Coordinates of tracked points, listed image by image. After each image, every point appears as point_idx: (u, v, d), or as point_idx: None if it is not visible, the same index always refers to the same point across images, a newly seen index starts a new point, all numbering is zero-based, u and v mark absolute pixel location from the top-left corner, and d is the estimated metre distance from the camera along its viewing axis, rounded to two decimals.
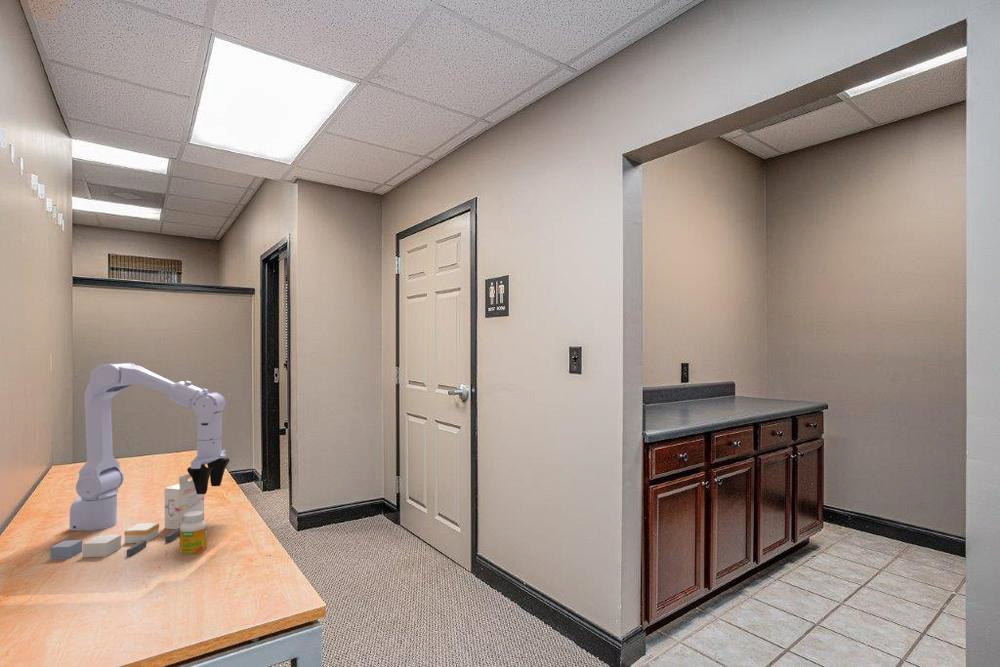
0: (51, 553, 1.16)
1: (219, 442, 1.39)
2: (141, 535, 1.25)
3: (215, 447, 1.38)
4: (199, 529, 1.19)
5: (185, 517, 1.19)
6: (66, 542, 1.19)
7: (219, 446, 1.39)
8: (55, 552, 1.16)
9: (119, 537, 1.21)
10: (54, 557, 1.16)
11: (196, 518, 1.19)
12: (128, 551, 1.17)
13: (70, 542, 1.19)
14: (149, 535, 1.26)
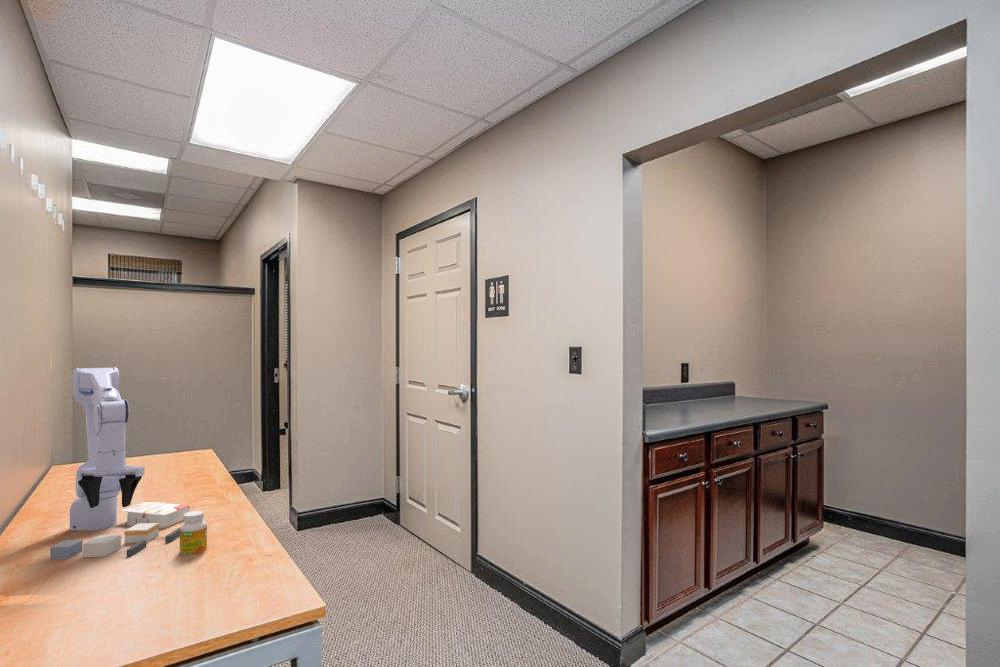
0: (51, 553, 1.16)
1: (101, 456, 1.25)
2: (141, 535, 1.25)
3: (97, 460, 1.25)
4: (199, 529, 1.19)
5: (185, 517, 1.19)
6: (66, 542, 1.18)
7: (101, 461, 1.25)
8: (55, 552, 1.16)
9: (119, 537, 1.21)
10: (54, 557, 1.16)
11: (196, 518, 1.19)
12: (128, 551, 1.17)
13: (70, 542, 1.18)
14: (149, 535, 1.26)
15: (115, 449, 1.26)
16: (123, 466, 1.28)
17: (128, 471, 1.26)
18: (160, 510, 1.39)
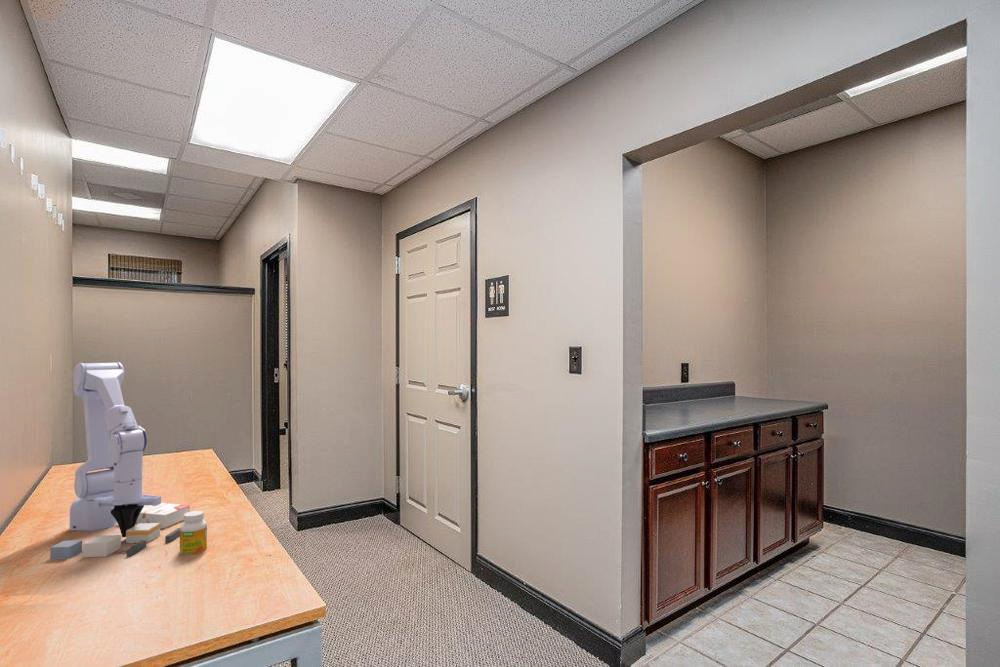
0: (51, 553, 1.16)
1: (118, 486, 1.25)
2: (143, 535, 1.25)
3: (114, 490, 1.25)
4: (199, 529, 1.19)
5: (185, 517, 1.19)
6: (66, 542, 1.18)
7: (118, 491, 1.25)
8: (55, 552, 1.16)
9: (119, 537, 1.21)
10: (54, 557, 1.16)
11: (196, 518, 1.19)
12: (128, 551, 1.17)
13: (70, 542, 1.18)
14: (150, 535, 1.26)
15: (134, 478, 1.26)
16: (140, 495, 1.28)
17: (145, 500, 1.26)
18: (160, 510, 1.39)
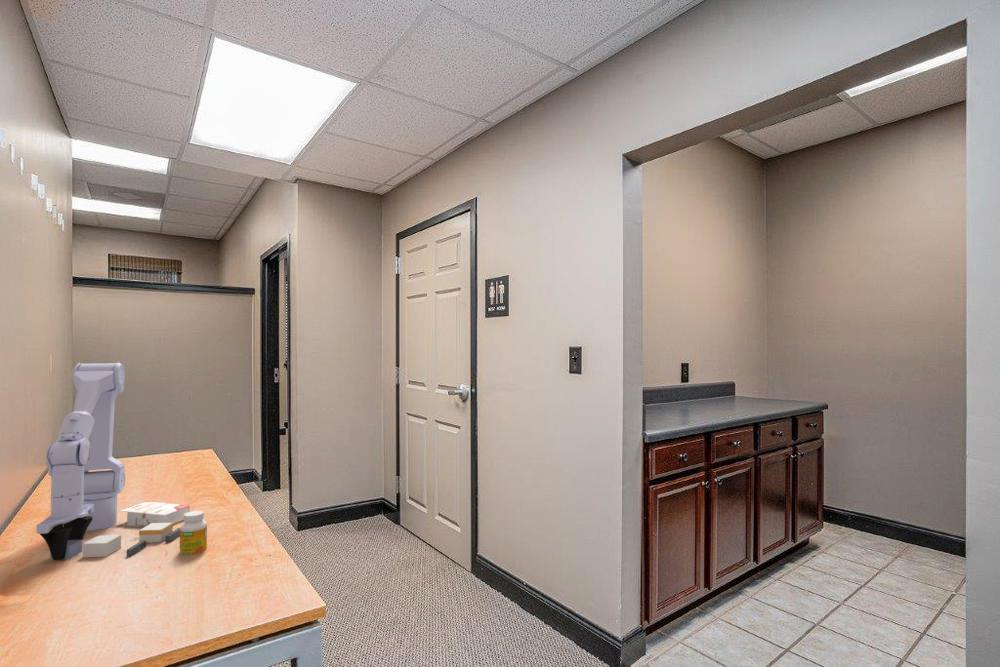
0: None
1: (79, 498, 1.18)
2: (156, 535, 1.25)
3: (72, 505, 1.16)
4: (199, 529, 1.19)
5: (185, 517, 1.19)
6: None
7: (79, 503, 1.18)
8: None
9: (119, 537, 1.21)
10: None
11: (196, 518, 1.19)
12: (128, 551, 1.17)
13: (70, 542, 1.18)
14: (163, 535, 1.27)
15: (64, 494, 1.16)
16: None
17: (89, 508, 1.23)
18: (160, 510, 1.39)
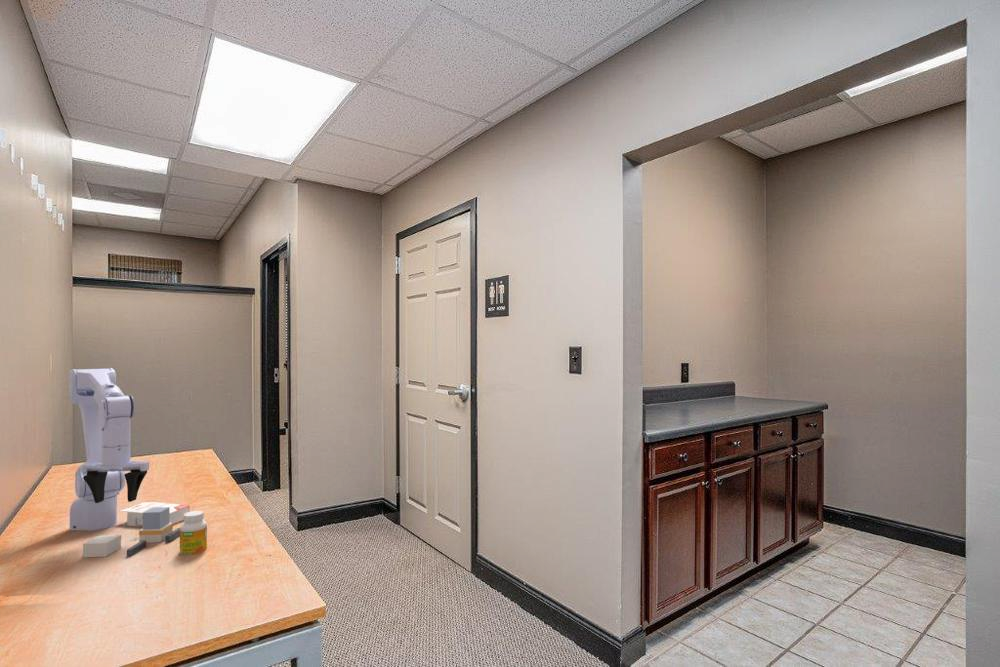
0: None
1: (106, 451, 1.25)
2: (156, 535, 1.25)
3: (102, 455, 1.26)
4: (199, 529, 1.19)
5: (185, 517, 1.19)
6: (161, 509, 1.29)
7: (106, 456, 1.25)
8: None
9: (119, 537, 1.21)
10: None
11: (196, 518, 1.19)
12: (128, 551, 1.17)
13: (158, 510, 1.28)
14: (163, 535, 1.27)
15: (121, 444, 1.27)
16: (128, 461, 1.29)
17: (133, 466, 1.27)
18: None
